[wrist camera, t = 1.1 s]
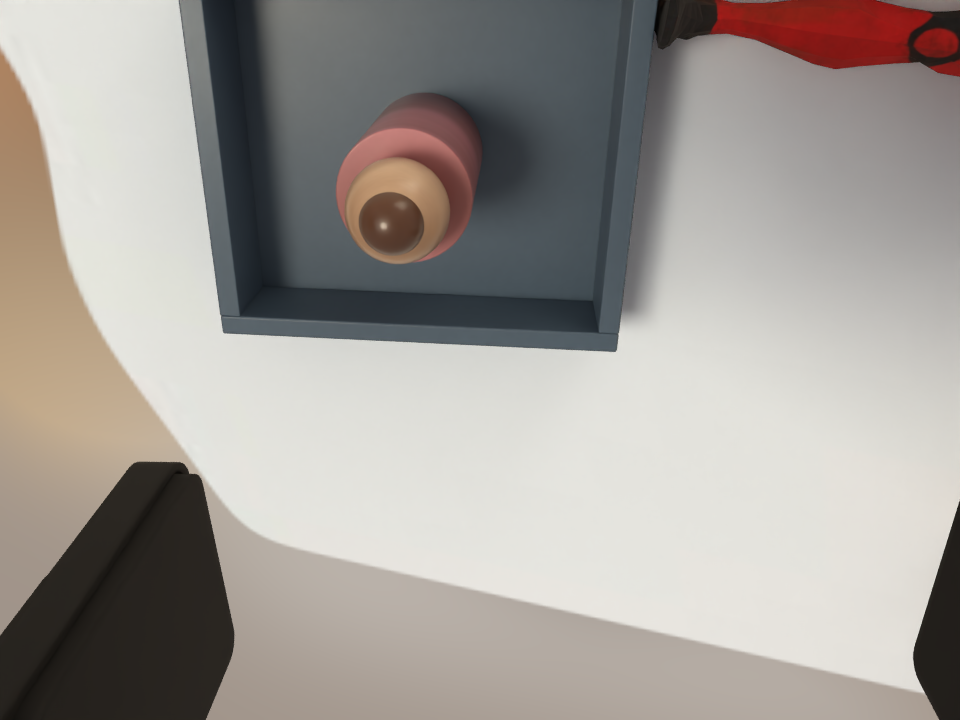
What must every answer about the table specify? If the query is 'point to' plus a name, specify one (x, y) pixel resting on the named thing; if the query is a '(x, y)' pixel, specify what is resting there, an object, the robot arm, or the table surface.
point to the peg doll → (411, 180)
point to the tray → (502, 179)
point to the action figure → (823, 30)
